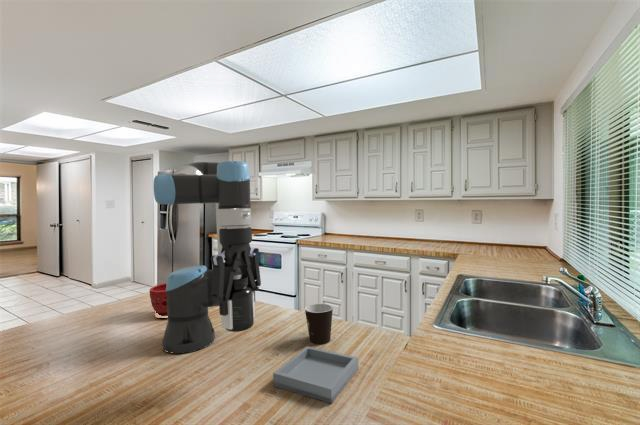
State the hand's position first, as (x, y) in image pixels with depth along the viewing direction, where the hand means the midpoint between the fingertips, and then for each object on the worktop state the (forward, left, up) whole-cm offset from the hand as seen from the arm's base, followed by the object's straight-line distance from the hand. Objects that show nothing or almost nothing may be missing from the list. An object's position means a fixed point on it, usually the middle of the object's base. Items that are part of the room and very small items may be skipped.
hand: (239, 322), depth 74 cm
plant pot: (-59, +23, -14) cm, 65 cm away
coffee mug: (+6, +29, -14) cm, 33 cm away
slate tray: (+16, +9, -14) cm, 23 cm away
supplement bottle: (0, 0, -1) cm, 1 cm away
